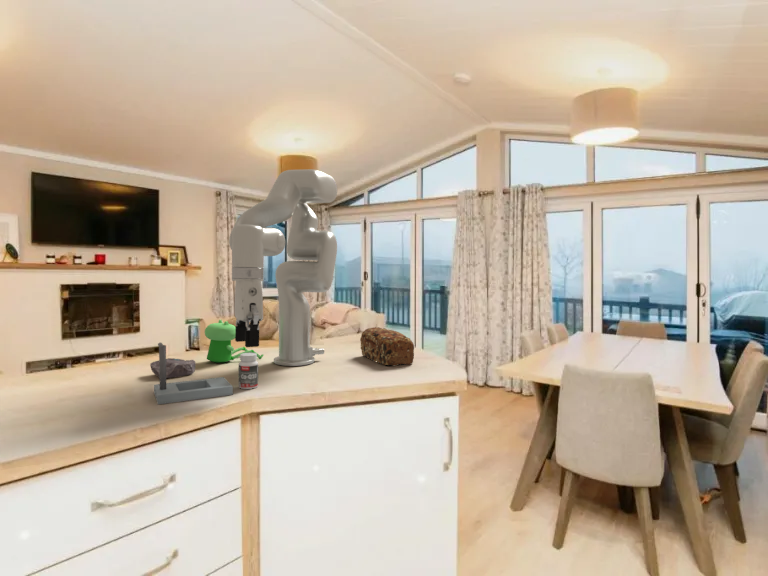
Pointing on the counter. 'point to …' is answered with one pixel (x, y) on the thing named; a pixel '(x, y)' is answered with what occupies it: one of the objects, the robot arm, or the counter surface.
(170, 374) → the rock
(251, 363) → the pill bottle
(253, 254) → the robot arm
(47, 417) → the counter surface
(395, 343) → the bread
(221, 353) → the toy character
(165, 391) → the gray slotted post stand
